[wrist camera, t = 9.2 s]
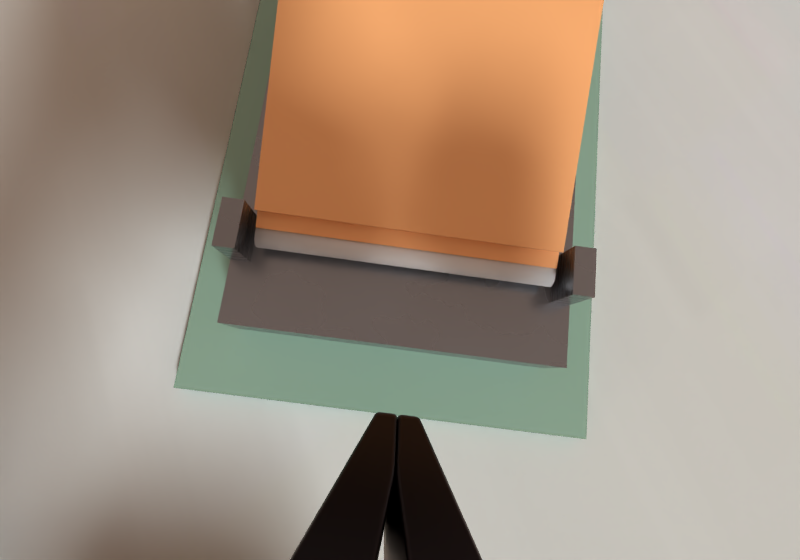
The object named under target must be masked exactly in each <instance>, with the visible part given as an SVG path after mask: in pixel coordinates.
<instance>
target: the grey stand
mask: <svg viewBox="0 0 800 560" xmlns="http://www.w3.org/2000/svg"><path fill="white" fill-rule="evenodd" d="M269 75H270V73H269ZM268 84H269V78H268V83H267V87H266V92H265V97H264V102H263V106H262V111H261V116H260V121H259V125H258V130H257V135H256V140H255V144H254V149H253V154H252V159H251V163H250V168H249V173H248V178H247V183H246V187H245V192H244V197H243V199H236V198H229V197H222V199H221V204H220V208H219V213H218V217H217V222H216V226H215V231H214V235H213V240H212V244H211V246H213V247H214V248H215V249H217V250H218V251H220V252H221V253H222V254H224V255H225V256H226V257H228V258H229V259H230V263H229V268H228V273H227V278H226V282H225V287H224V292H223V297H222V301H221V306H220V311H219V316H218V320H217V323H220V324H224V325H228V326H231V327H235V328H238V329H244V330H252V331H260V332H267V333H275V334H283V335H291V336H298V337H306V338H314V339H321V340H329V341H337V342H344V343H352V344H360V345H368V346H375V347H383V348H391V349H398V350H406V351H414V352H422V353H429V354H437V355H445V356H452V357H460V358H468V359H475V360H483V361H491V362H499V363H506V364H514V365H522V366H529V367H537V368H567V352H568V331H569V310H570V305H572V304H575V303H578V302H582V301H585V300H588V299H591V298H594V297H595V277H596V248H589V247H582V246H574V247H573V226H574V205H575V185H576V177H575V184H574V190H573V196H572V202H571V209H570V215H569V221H568V227H567V234H566V240H565V246H564V252H559V258H558V264H557V269H556V276H555V281H554V283H553V285H552V286H551V287H545V286H538V285H530V284H523V283H516V282H508V281H501V280H493V279H486V278H479V277H471V276H464V275H457V274H449V273H442V272H434V271H427V270H420V269H412V268H405V267H398V266H390V265H383V264H376V263H368V262H361V261H353V260H346V259H339V258H331V257H324V256H317V255H309V254H302V253H294V252H287V251H280V250H272V249H265V248H258V247H256V246H255V242H254V237H255V230H256V219H257V210H254V206H255V197H256V189H257V180H258V171H259V163H260V154H261V145H262V136H263V128H264V119H265V110H266V101H267V93H268Z"/></svg>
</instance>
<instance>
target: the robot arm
mask: <svg viewBox="0 0 800 560" xmlns="http://www.w3.org/2000/svg"><path fill="white" fill-rule="evenodd" d="M383 531H384V560H482V558H481V556H480V554H479V551H478V549H477V547H476V545H475V542H474V540H473V538H472V536H471V533H470V531H469V529H468V527H467V524H466V522H465V520H464V518H463V515H462V513H461V511H460V509H459V506H458V504H457V502H456V499H455V497H454V495H453V493H452V490H451V488H450V486H449V484H448V481H447V479H446V477H445V475H444V472H443V470H442V468H441V466H440V463H439V461H438V459H437V457H436V454H435V452H434V450H433V448H432V445H431V443H430V441H429V438H428V436H427V434H426V432H425V429H424V427H423V425H422V423H421V421H420V419H419V418H418V417H416V416H408V415H399V416H398V417H397V416H396V415H395V414H392V413H384V412H377V413H376V414H375V415H374V417H373V419H372V420H371V422H370V424H369V426H368V427H367V429H366V431H365V432H364V434H363V436H362V437H361V439H360V441H359V443H358V444H357V446H356V448H355V449H354V451H353V453H352V455H351V456H350V458H349V460H348V461H347V463H346V465H345V467H344V468H343V470H342V472H341V473H340V475H339V477H338V479H337V480H336V482H335V484H334V485H333V487H332V489H331V491H330V492H329V494H328V496H327V497H326V499H325V501H324V503H323V504H322V506H321V508H320V509H319V511H318V513H317V514H316V516H315V518H314V520H313V521H312V523H311V525H310V526H309V528H308V530H307V532H306V533H305V535H304V537H303V538H302V540H301V542H300V544H299V545H298V547H297V549H296V550H295V552H294V554H293V556H292V557H291V559H290V560H378V556H379V551H380V546H381V541H382V536H383Z"/></svg>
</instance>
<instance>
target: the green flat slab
mask: <svg viewBox="0 0 800 560" xmlns="http://www.w3.org/2000/svg"><path fill="white" fill-rule="evenodd" d="M277 5H278V0H260V3H259V8H258V12H257V17H256V21H255V26H254V30H253V35H252V39H251V44H250V48H249V53H248V57H247V62H246V66H245V71H244V75H243V80H242V84H241V88H240V93H239V97H238V102H237V106H236V111H235V115H234V120H233V124H232V129H231V133H230V138H229V142H228V147H227V151H226V156H225V160H224V165H223V169H222V173H221V178H220V182H219V187H218V191H217V196H216V200H215V205H214V209H213V214H212V218H211V223H210V227H209V232H208V236H207V241H206V245H205V250H204V254H203V258H202V263H201V267H200V272H199V276H198V281H197V285H196V290H195V294H194V299H193V303H192V308H191V312H190V317H189V321H188V326H187V330H186V334H185V339H184V343H183V348H182V352H181V357H180V361H179V366H178V370H177V375H176V379H175V384H174V388H181V389H189V390H197V391H205V392H213V393H221V394H229V395H237V396H245V397H253V398H261V399H269V400H277V401H285V402H293V403H301V404H309V405H317V406H325V407H333V408H341V409H349V410H357V411H365V412H373V413H377V412H384V413H392V414H395V415H397V416H399V415H408V416H416V417H418V418H421V419H429V420H437V421H445V422H453V423H461V424H469V425H477V426H485V427H493V428H501V429H509V430H517V431H525V432H533V433H541V434H549V435H557V436H565V437H573V438H581V439H586V431H587V405H588V379H589V352H590V326H591V299H592V298H591V299H588V300H585V301H582V302H578V303H575V304H572V305H570V310H569V331H568V352H567V368H537V367H529V366H522V365H514V364H506V363H499V362H491V361H483V360H475V359H468V358H460V357H452V356H445V355H437V354H429V353H422V352H414V351H406V350H398V349H391V348H383V347H375V346H368V345H360V344H352V343H344V342H337V341H329V340H321V339H314V338H306V337H298V336H291V335H283V334H275V333H267V332H260V331H252V330H244V329H238V328H235V327H231V326H228V325H224V324H220V323H217V320H218V316H219V311H220V306H221V301H222V297H223V292H224V287H225V282H226V278H227V273H228V268H229V263H230V259H229V258H228V257H226V256H225V255H224V254H222V253H221V252H220V251H218V250H217V249H215V248H214V247H213V246H211V244H212V240H213V235H214V231H215V226H216V222H217V217H218V213H219V208H220V204H221V199H222V197H229V198H236V199H243V197H244V192H245V187H246V183H247V178H248V173H249V168H250V163H251V159H252V154H253V149H254V144H255V140H256V135H257V130H258V125H259V121H260V116H261V111H262V106H263V102H264V97H265V92H266V87H267V83H268V78H269V73H270V66H271V58H272V49H273V40H274V31H275V23H276V14H277ZM602 9H603V8H602ZM601 35H602V15H601V21H600V27H599V34H598V40H597V46H596V52H595V59H594V65H593V71H592V77H591V84H590V90H589V96H588V102H587V109H586V115H585V121H584V127H583V134H582V140H581V146H580V152H579V159H578V165H577V171H576V185H575V205H574V226H573V247H574V246H582V247H589V248H593V247H594V220H595V194H596V167H597V141H598V115H599V88H600V62H601Z"/></svg>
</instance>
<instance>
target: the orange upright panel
mask: <svg viewBox="0 0 800 560" xmlns="http://www.w3.org/2000/svg"><path fill="white" fill-rule="evenodd" d="M603 2H604V0H278V5H277V14H276V23H275V31H274V40H273V49H272V58H271V66H270V75H269V84H268V93H267V101H266V110H265V119H264V128H263V136H262V145H261V154H260V163H259V171H258V180H257V189H256V197H255V206H254V210H257V219H256V230H255V237H254V242H255V246H256V247H258V248H265V249H272V250H280V251H287V252H294V253H302V254H309V255H317V256H324V257H331V258H339V259H346V260H353V261H361V262H368V263H376V264H383V265H390V266H398V267H405V268H412V269H420V270H427V271H434V272H442V273H449V274H457V275H464V276H471V277H479V278H486V279H493V280H501V281H508V282H516V283H523V284H530V285H538V286H545V287H551V286H552V285H553V283H554V281H555V276H556V269H557V264H558V258H559V252H564V246H565V240H566V234H567V227H568V221H569V215H570V209H571V202H572V196H573V190H574V184H575V177H576V171H577V165H578V159H579V152H580V146H581V140H582V134H583V127H584V121H585V115H586V109H587V102H588V96H589V90H590V84H591V77H592V71H593V65H594V59H595V52H596V46H597V40H598V34H599V27H600V21H601V15H602V8H603Z"/></svg>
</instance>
